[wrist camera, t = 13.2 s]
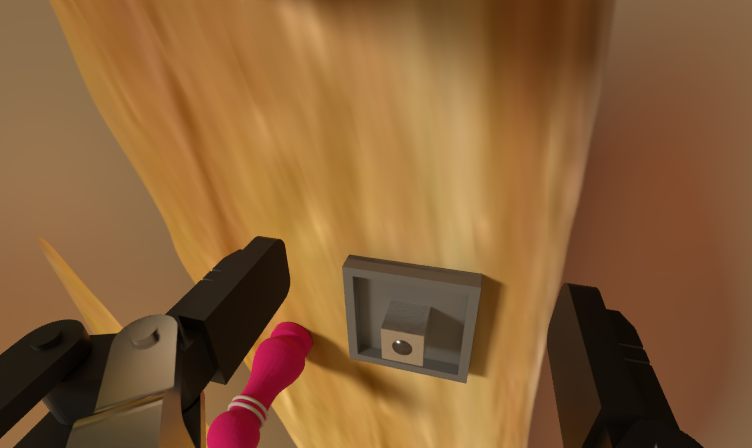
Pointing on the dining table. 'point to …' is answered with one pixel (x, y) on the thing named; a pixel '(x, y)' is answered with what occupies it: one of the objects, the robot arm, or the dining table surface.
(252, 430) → the pepper mill
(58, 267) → the dining table surface
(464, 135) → the dining table surface
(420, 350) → the grey dotted cube
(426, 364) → the tray
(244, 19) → the dining table surface
